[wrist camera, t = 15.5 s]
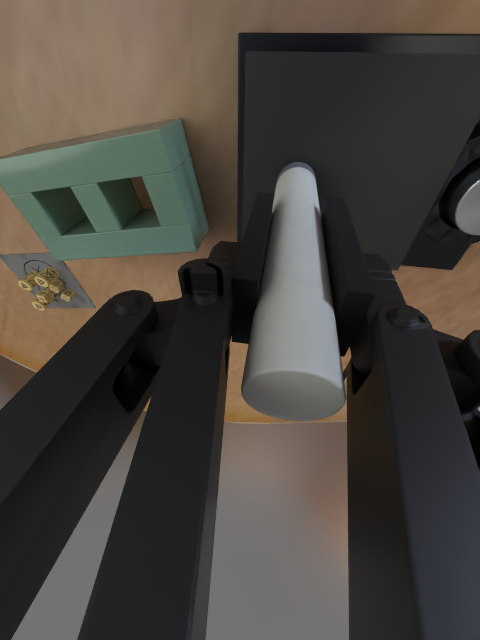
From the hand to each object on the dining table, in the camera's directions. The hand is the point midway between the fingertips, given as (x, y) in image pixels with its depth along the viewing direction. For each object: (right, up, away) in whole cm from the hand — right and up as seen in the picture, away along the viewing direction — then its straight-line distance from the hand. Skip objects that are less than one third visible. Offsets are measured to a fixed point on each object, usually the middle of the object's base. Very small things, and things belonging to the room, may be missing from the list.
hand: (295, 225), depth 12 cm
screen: (+4, +4, +4) cm, 7 cm away
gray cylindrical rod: (+1, +4, +4) cm, 6 cm away
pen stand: (-12, +6, +9) cm, 17 cm away
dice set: (-26, 0, +19) cm, 32 cm away
